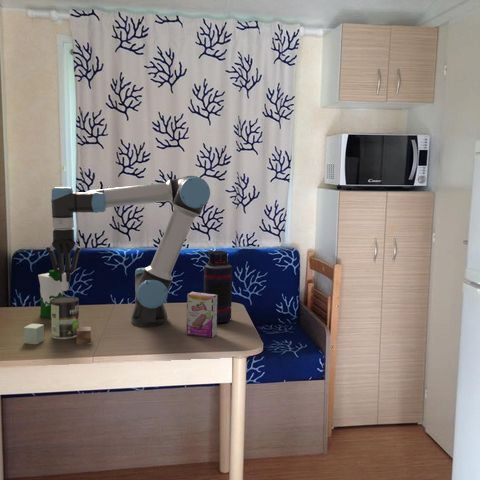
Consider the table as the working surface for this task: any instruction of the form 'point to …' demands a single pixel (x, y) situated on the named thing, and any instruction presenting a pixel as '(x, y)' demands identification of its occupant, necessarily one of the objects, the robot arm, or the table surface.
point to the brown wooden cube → (83, 335)
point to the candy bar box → (201, 314)
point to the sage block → (34, 333)
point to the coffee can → (64, 317)
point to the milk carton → (49, 291)
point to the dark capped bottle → (219, 283)
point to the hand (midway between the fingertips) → (65, 290)
